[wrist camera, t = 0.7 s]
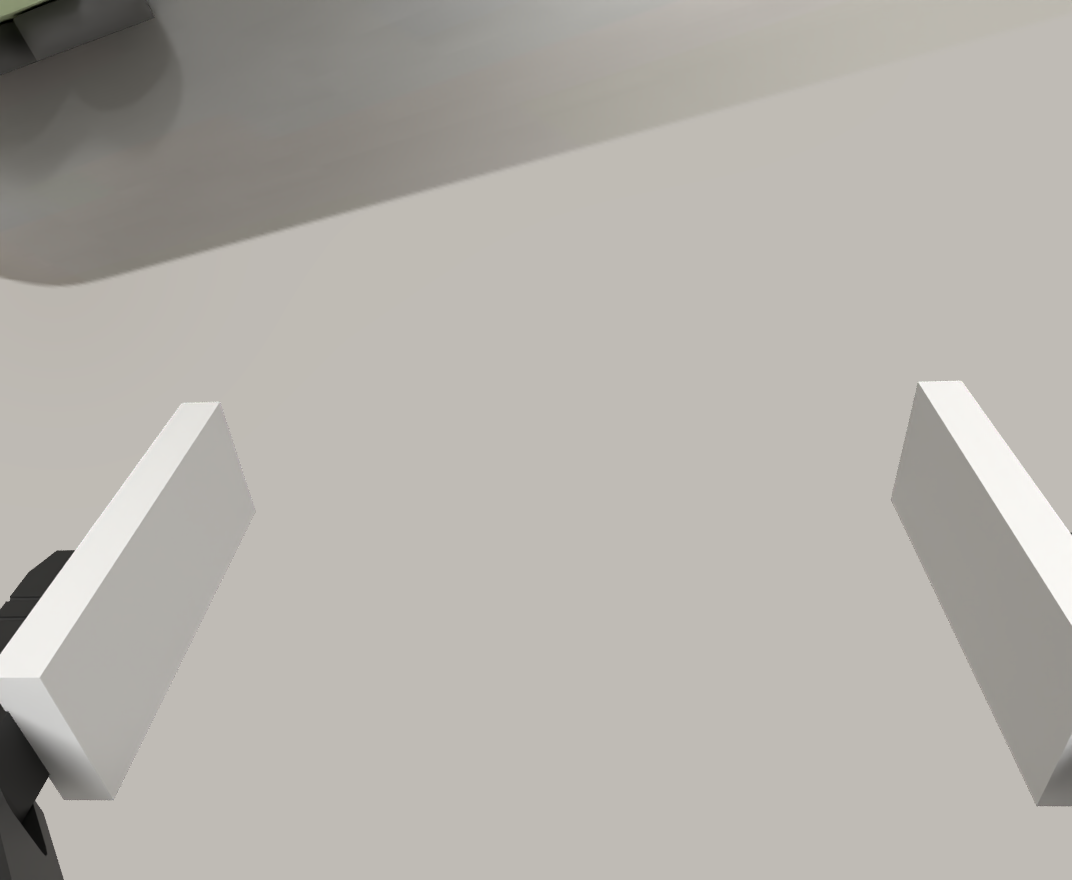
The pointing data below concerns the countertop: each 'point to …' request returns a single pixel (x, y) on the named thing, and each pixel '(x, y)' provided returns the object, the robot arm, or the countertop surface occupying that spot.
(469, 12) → the countertop surface
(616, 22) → the countertop surface
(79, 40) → the green roller box
